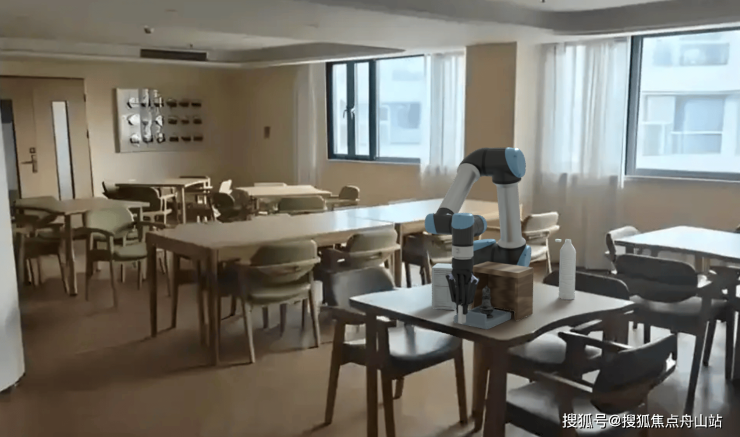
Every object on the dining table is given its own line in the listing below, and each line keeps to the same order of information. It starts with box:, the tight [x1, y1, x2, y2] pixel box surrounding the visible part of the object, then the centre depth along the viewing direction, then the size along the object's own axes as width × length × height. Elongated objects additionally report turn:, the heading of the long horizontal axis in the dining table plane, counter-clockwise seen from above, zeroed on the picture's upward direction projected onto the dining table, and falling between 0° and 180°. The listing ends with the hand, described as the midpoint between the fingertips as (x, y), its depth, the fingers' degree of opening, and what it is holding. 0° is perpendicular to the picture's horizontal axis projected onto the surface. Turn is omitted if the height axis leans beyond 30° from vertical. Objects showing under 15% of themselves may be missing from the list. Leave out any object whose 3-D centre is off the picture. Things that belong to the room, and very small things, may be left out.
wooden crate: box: [470, 262, 535, 321], centre depth 253 cm, size 20×12×18 cm, turn 49°
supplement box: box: [431, 262, 456, 311], centre depth 263 cm, size 10×9×17 cm
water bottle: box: [554, 238, 577, 301], centre depth 274 cm, size 9×6×25 cm
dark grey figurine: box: [478, 285, 495, 318], centre depth 245 cm, size 6×6×12 cm
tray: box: [453, 306, 512, 330], centre depth 243 cm, size 14×17×5 cm
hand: (462, 322), depth 233 cm, fingers closed
